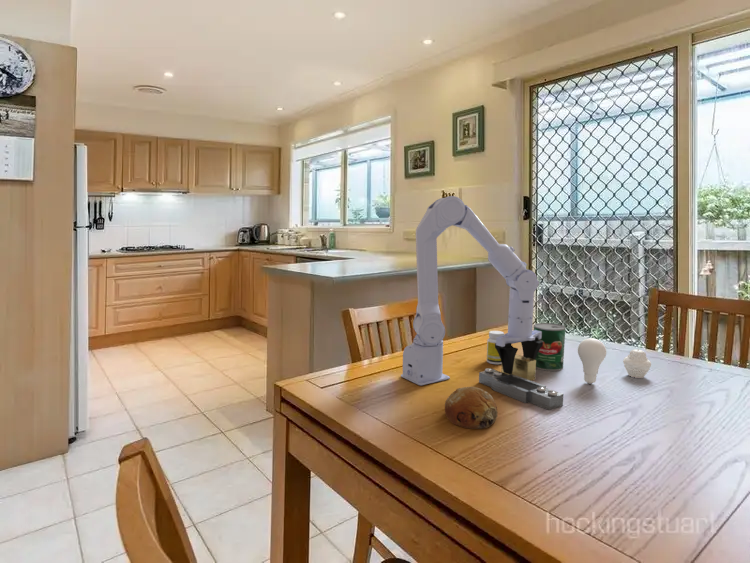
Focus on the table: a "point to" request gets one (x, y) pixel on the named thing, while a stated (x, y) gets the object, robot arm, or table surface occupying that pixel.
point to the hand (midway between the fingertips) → (518, 370)
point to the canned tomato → (551, 346)
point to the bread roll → (471, 408)
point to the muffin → (637, 363)
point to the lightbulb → (591, 357)
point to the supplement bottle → (493, 348)
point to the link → (523, 367)
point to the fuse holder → (521, 389)
